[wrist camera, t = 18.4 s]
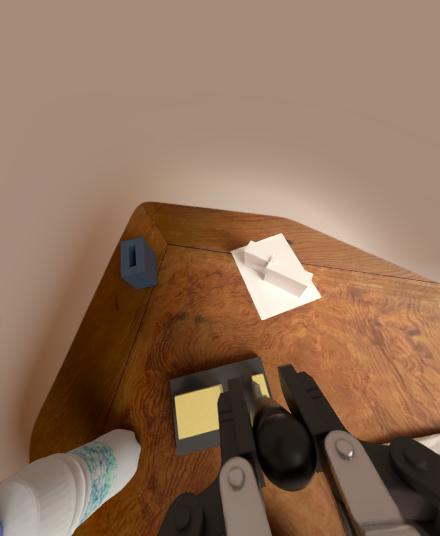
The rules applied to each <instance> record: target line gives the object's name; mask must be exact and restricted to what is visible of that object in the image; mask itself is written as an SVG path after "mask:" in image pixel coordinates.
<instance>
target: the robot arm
mask: <svg viewBox="0 0 440 536" xmlns="http://www.w3.org/2000/svg"><path fill="white" fill-rule="evenodd" d="M278 372H279V378H280V383H281V388H282V392H283V395H284V398H285V400H286V403H287V405H288V407H289V410H290V412H291V414H292V415H293V416H294V417H295V418H296V419H298V420H299V421H300V422H301V423H302V424H303V425H304V426H305V427H306V429H307V430H308V432H309V434H310V435H311V437H312V440H313V442H314V444H315V448H316V454H317V467H316V472H317V473H319V472H324V474H325V476H326V478H327V481H328V483H329V488H330V492H331V496H332V498H333V501H334V504H335V506H336V509H337V512H338V515H339V517H340V520H341V523H342V525H343V528H344V531H345V534H346V536H440V455H439V454H437V453H436V452H434V451H433V450H431V449H429V448H428V447H426V446H425V445H423V444H421V443H420V442H418V441H416V440H414V439H411V438H407V437H397V438H394V439H393V440H392V441H391V443H390V445H381V444H373V443H367V442H364V441H361V440H359V439H357V438H356V437H354V436H353V435H351V434H350V433H349V432H348V431H347V430H346V429H345V427H344V426H343V424H342V423H341V421H340V420H339V418H338V417H337V415H336V413H335V412H334V410H333V409H332V407H331V406H330V404H329V403H328V401H327V400H326V398H325V397H324V395H323V393H322V392H321V390H320V389H319V387H318V386H317V384H316V383H315V381H314V379H313V378H312V377H311V376H309V375H308V374H307V373H305V372H304V371H303V372H299V373H296V371H295V369H294V367H293V366H292V364H287V365H283V366H279V367H278ZM227 382H228V389H229V391H226V392H222V393H220V395H219V398H218V402H217V408H218V421H219V433H220V445H221V458H222V462H221V468H220V472H219V474H218V476H217V478H216V480H215V481H214V482H213V483H212V484H211V485H210V486H209V487H208V488H207V489H205V490H204V491H203V492H201V493H200V494H199V495H197V496H196V495H194V494H193V493H183V494H181V495H180V496H178V497H177V498H176V499H175V500H174V501H173V502H172V504H171V505H170V507H169V509H168V511H167V513H166V516H165V518H164V520H163V523H162V525H161V527H160V529H159V532H158V534H157V536H272V534H271V530H270V527H269V523H268V520H267V516H266V508H265V503H264V498H263V494H262V489H261V488H262V487H266V484H265V480H264V476H263V471H262V468H261V467H260V464H259V462H258V458H257V450H256V446H255V440H254V434H253V428H252V424H251V420H250V415H249V411H248V407H247V403H246V398H245V395H244V391H243V387H242V383H241V379H240V377H236V378H233V379H229V380H227Z"/></svg>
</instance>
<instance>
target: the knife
mask: <svg viewBox="0 0 440 536" xmlns="http://www.w3.org/2000/svg"><path fill="white" fill-rule="evenodd" d="M251 384H252V388H253V392H254V396H255V398H254V401H255V402H254V403H253V405H252V407H251V410H250V418H251V424H252V428H253V434H254V440H255V446H256V450H257V458H258V462H259V464H260V467H261V468H262V470H263V472H264V474H265V475H266V477H267V478H268V479H269V480H270V481H271V482H272V483H273V484H274V485H276V486H277V487H279V488H281V489H283V490H286V491H292V492H293V491H299V490H302V489H304V488H305V487H306V486H308V485H309V483H310V482H311V481H312V479H313V477H314V475H315V471H316V467H317V454H316V448H315V444H314V442H313V440H312V437H311V435H310V434H309V432H308V430H307V429H306V427H305V426H304V425H303V424H302V423H301V422H300V421H299V420H298V419H296V418H295V417H294V416H293V415H292V414H290V413H289V412H288V411H287V410H286V409H284V408H283V407H282V406H281V405H280V404H278V403H277V402H276V401H275V400H273V399H272V398H269V397H267V395H263V396H262V392H261V388H260V385H259V384H258V383H256V382H255V381H252V382H251Z"/></svg>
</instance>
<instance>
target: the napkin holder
mask: <svg viewBox="0 0 440 536" xmlns="http://www.w3.org/2000/svg"><path fill="white" fill-rule="evenodd" d="M231 253H232V255H233V257H234V260H235V262H236V264H237V266H238V269H239V271H240V273H241V275H242V277H243V280H244V282H245V284H246V286H247V289H248V291H249V293H250V295H251V297H252V300H253V302H254V304H255V306H256V308H257V311H258V313H259V315H260V317H261V320H264V319H267V318H270V317H272V316H275V315H277V314H280V313H283V312H285V311H288V310H290V309H293V308H295V307H298V306H301V305H303V304H306V303H308V302H311V301H314V300H316V299H319V298H321V295H320V294H319V292H318V290H317V289H316V287H315V286H314V284H313V283H312V281H311V279H312V276H313V274H312V273H309V272H307V271H305V270H304V268H303V267H302V265H301V264H300V262H299V260H298V259H297V257H296V256H295V254H294V252H293V251H292V249H291V248H290V246H289V244H288V243H287V241H286V240H285V238H284V236H283V235H282V233H280V234H277V235H275V236H272V237H269V238H266V239H264V240H261V241H258V242H253V241H250V243H249V244H248V245H247V246H244V247H241V248H239V249H236V250H233V251H231Z"/></svg>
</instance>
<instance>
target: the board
mask: <svg viewBox="0 0 440 536" xmlns="http://www.w3.org/2000/svg"><path fill="white" fill-rule="evenodd" d="M257 374H263V376H264V380H265V383H266V387H267V390H268V393H269V397H270V398H272V395H271V392H270V388H269V385H268V382H267V378H266V375H265V371H264V368H263V365H262V361H261V358H260V356H259V357H255V358H251V359H247V360H244V361H240V362H236V363H232V364H228V365H224V366H220V367H217V368H213V369H209V370H205V371H201V372H197V373H193V374H190V375H186V376H182V377H178V378H174V379H170V387H171V397H172V407H173V417H174V427H175V437H176V447H177V456H181V455H185V454H188V453H192V452H196V451H200V450H204V449H207V448H211V447H215V446H219V445H220V433H219V429H217V430H213V431H209V432H205V433H202V434H198V435H194V436H190V437H186V438H183V439H179V436H178V426H177V417H176V407H175V398H174V397H175V396H178V395H181V394H184V393H188V392H192V391H196V390H200V389H204V388H207V387H211V386H215V385H219V384H222V389H223V392H226V391H229V389H228V382H227V380H229V379H233V378H236V377H240V379H241V383H242V387H243V391H244V395H245V398H246V403H247V407H248V411H249V415H250V410H251V407H252V405H253V403H254V402H255V401H254V398H255V396H254V392H253V388H252V384H251V382H252V378H251V376H253V375H257ZM272 399H273V398H272ZM250 420H251V418H250Z"/></svg>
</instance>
